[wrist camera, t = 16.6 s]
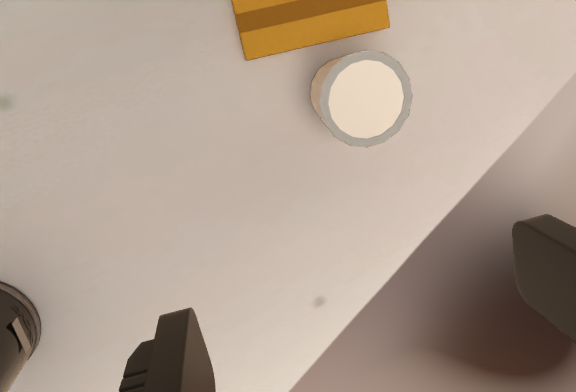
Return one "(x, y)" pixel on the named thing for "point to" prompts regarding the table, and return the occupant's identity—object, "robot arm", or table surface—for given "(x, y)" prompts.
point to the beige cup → (362, 97)
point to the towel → (303, 23)
